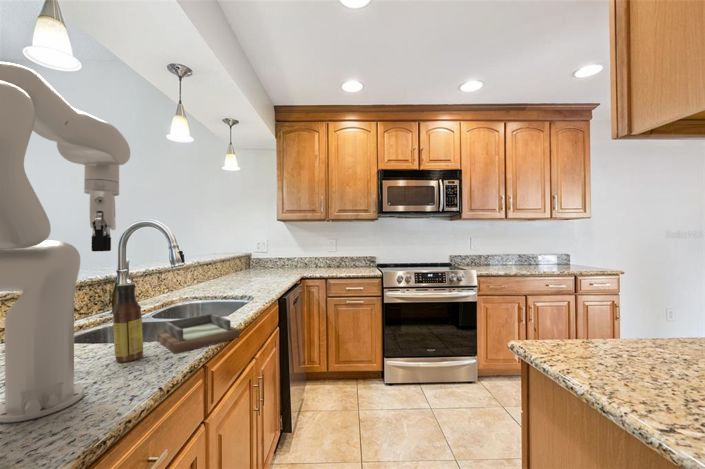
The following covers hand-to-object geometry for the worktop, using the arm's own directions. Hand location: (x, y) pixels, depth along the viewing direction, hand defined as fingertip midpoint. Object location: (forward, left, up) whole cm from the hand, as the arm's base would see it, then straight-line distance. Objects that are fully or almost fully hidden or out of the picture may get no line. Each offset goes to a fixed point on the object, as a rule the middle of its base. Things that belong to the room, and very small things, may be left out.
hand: (101, 251), depth 87 cm
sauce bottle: (-7, -5, -29) cm, 30 cm away
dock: (-4, -24, -29) cm, 37 cm away
